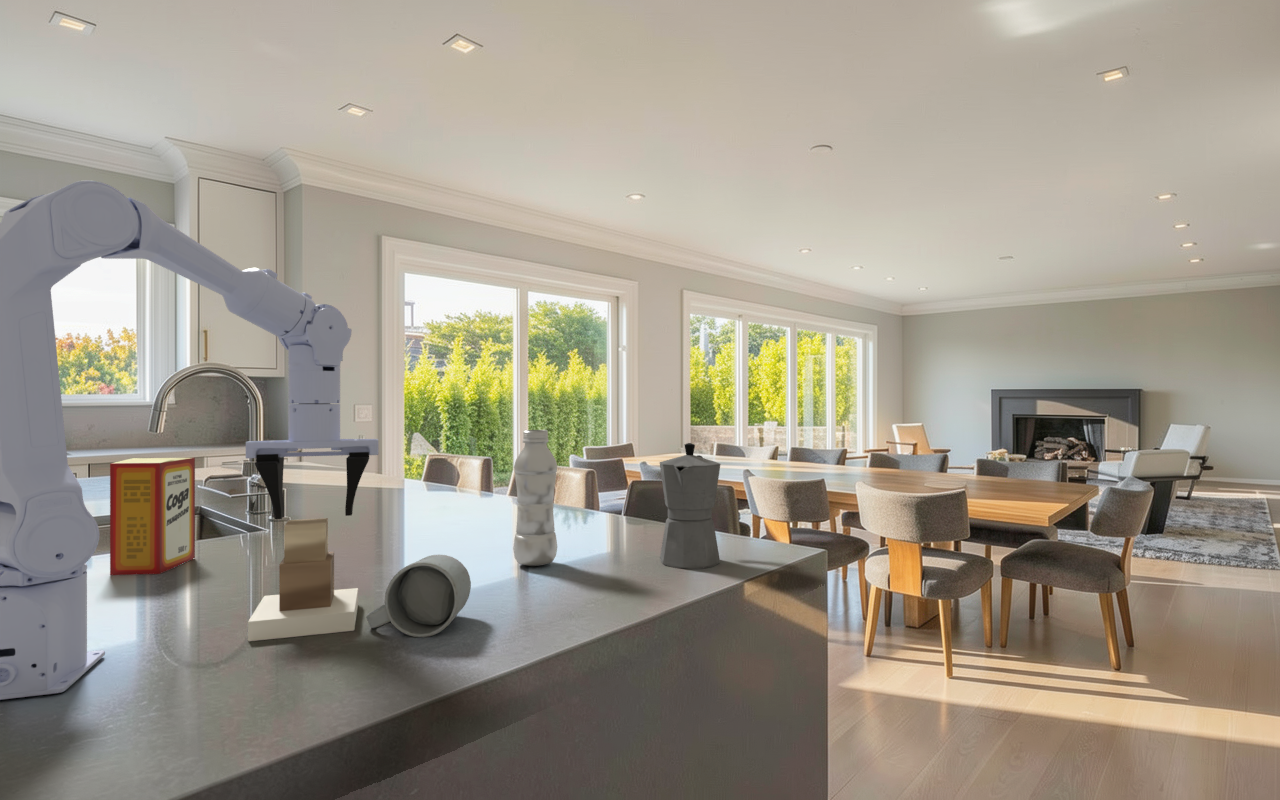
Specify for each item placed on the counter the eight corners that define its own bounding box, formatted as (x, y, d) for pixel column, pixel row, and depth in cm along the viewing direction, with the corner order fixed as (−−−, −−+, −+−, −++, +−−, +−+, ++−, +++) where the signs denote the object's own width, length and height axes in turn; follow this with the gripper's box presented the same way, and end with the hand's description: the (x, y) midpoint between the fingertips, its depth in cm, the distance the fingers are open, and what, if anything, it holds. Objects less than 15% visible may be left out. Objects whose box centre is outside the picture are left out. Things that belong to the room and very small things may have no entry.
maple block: (325, 560, 77) (325, 523, 77) (284, 563, 75) (284, 526, 75) (327, 552, 80) (327, 518, 80) (289, 555, 79) (289, 520, 79)
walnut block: (330, 606, 77) (330, 560, 77) (279, 611, 75) (279, 564, 75) (334, 594, 81) (334, 551, 81) (286, 598, 80) (286, 554, 80)
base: (354, 630, 75) (354, 611, 75) (248, 641, 71) (248, 621, 71) (358, 604, 84) (358, 587, 84) (264, 613, 81) (264, 595, 81)
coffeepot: (712, 574, 99) (712, 446, 99) (647, 569, 102) (648, 445, 102) (729, 551, 114) (729, 440, 114) (672, 548, 116) (672, 439, 116)
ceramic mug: (474, 613, 81) (473, 546, 81) (458, 637, 73) (456, 562, 73) (381, 615, 81) (380, 548, 81) (354, 640, 72) (353, 565, 72)
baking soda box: (149, 559, 108) (149, 455, 108) (194, 558, 109) (194, 455, 109) (110, 575, 99) (110, 460, 99) (159, 573, 99) (159, 460, 99)
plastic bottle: (505, 568, 102) (505, 431, 102) (525, 558, 109) (525, 429, 109) (545, 571, 100) (545, 431, 100) (564, 561, 107) (564, 429, 107)
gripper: (378, 403, 92) (378, 508, 92) (253, 404, 87) (253, 514, 87) (378, 404, 85) (378, 516, 85) (242, 404, 80) (242, 523, 80)
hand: (314, 516), depth 85 cm, fingers open, 7 cm apart
